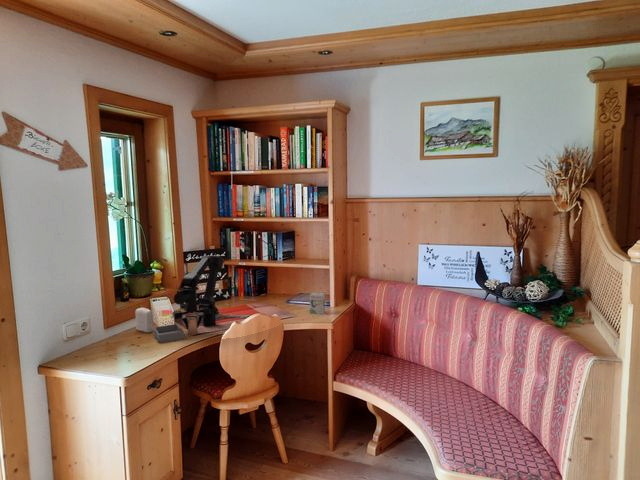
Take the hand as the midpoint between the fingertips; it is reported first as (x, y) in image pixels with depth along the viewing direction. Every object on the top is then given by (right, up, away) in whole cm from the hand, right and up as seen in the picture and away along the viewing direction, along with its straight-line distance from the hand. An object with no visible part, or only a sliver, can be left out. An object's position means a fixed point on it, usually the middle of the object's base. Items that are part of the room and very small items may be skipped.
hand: (192, 328), depth 244 cm
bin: (-11, -3, -5) cm, 12 cm away
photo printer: (-27, -2, +6) cm, 28 cm away
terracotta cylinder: (0, -3, 0) cm, 2 cm away
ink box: (+66, +2, +36) cm, 75 cm away
